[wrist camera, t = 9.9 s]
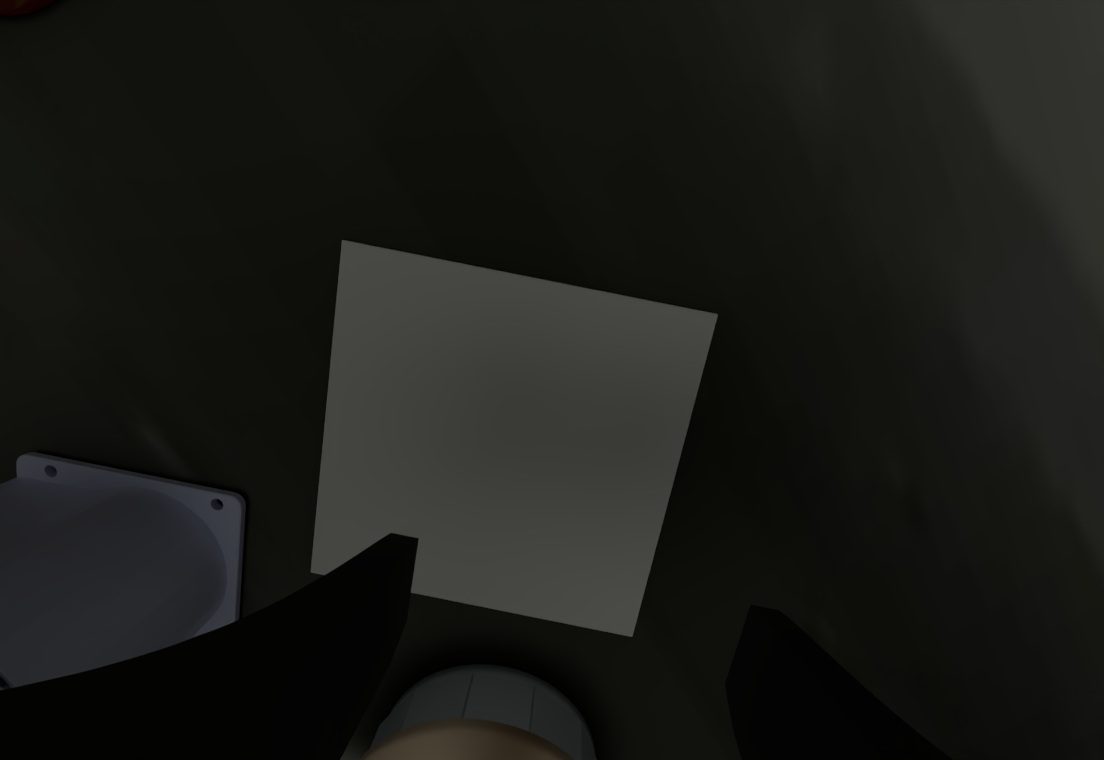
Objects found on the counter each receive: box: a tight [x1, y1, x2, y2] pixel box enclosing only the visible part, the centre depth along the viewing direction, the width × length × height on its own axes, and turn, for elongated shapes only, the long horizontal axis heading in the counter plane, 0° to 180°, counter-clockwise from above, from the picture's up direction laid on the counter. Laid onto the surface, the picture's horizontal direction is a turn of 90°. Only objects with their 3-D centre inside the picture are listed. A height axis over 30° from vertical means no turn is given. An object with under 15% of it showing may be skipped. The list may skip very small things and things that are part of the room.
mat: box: [311, 240, 718, 637], centre depth 22 cm, size 14×14×1 cm
